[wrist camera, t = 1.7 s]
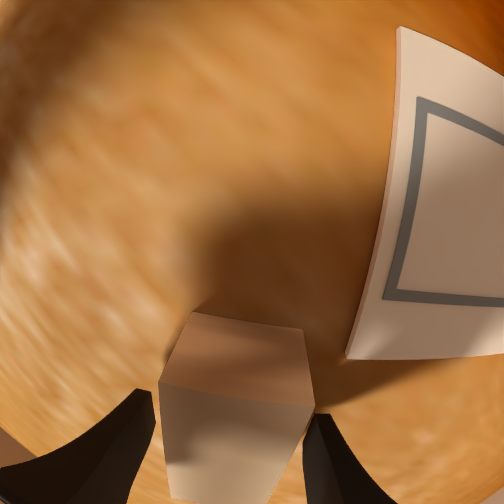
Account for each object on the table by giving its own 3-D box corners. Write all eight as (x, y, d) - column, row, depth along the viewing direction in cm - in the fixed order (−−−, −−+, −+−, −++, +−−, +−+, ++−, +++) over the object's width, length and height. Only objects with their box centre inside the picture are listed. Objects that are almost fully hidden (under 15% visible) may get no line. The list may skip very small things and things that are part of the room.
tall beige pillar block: (302, 326, 10) (315, 406, 7) (263, 448, 13) (261, 511, 9) (192, 309, 10) (158, 381, 7) (187, 436, 13) (171, 497, 9)
